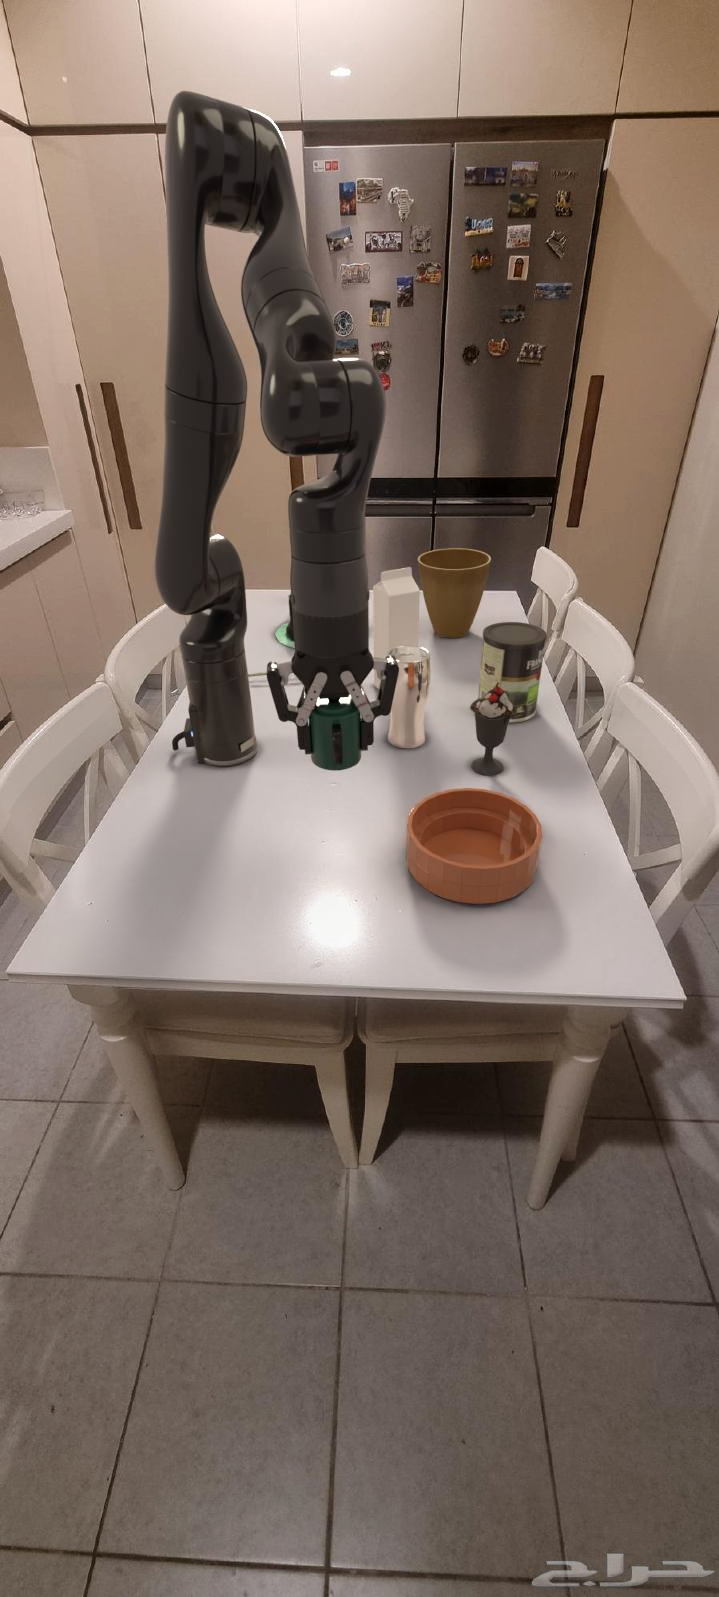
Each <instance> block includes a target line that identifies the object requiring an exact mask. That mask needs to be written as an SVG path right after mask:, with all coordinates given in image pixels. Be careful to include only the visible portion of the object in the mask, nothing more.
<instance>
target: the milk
mask: <svg viewBox="0 0 719 1597" xmlns="http://www.w3.org/2000/svg"><path fill="white" fill-rule="evenodd" d="M412 570H413V568H412V567H410V566H407V567H403V568H397V569H390V570H385V571H382V572H381V573H380V581H379V582H377V583H376V584H374V585H373V586H372V587H373V588H372V604H373V606H372V607H373V608H372V610H373V612H372V614H373V615H372V616H373V618H372V619H373V624H372V625H373V657H377V658H386V657H387V652H388V651H389V650H390V649H392V648H394V647H397V646H404V645H413V646H419V633H420V631H419V629H420V603H421V602H420V601H421V600H420V599H421V598H420V597H421V596H420V595H421V590H420V587H419V586H418V584H417V583H416V581H415V579H414V577H413V571H412ZM380 682H381V680H380V679H379V678H378V676H377V671H376V670H375V669H373V686H374V687H375V688H376V689H377V690H379V687H380Z"/></svg>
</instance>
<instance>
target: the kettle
mask: <svg viewBox="0 0 719 1597" xmlns="http://www.w3.org/2000/svg"><path fill="white" fill-rule="evenodd" d="M309 724H310V740H311V754H310V757H311V758H310V759H311V762H312V764H314V765H315V766H316V767H317V768H320V769H323V770H325V771H334V772H335V771H344V770H348V769H351V768H353V767H355V766H357V765H358V764H359V762H361V759H362V751H361V717H360V712H359V710H358V708H357V707H356V706H355V704H354V702H353V700H352V698H351V696H350V695H349V697H348V698H340V697H331V698H327V699H319V698H318V700H317V703H316V705H315V707H314V709H313V710H312V712H311V714H310V716H309Z"/></svg>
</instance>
